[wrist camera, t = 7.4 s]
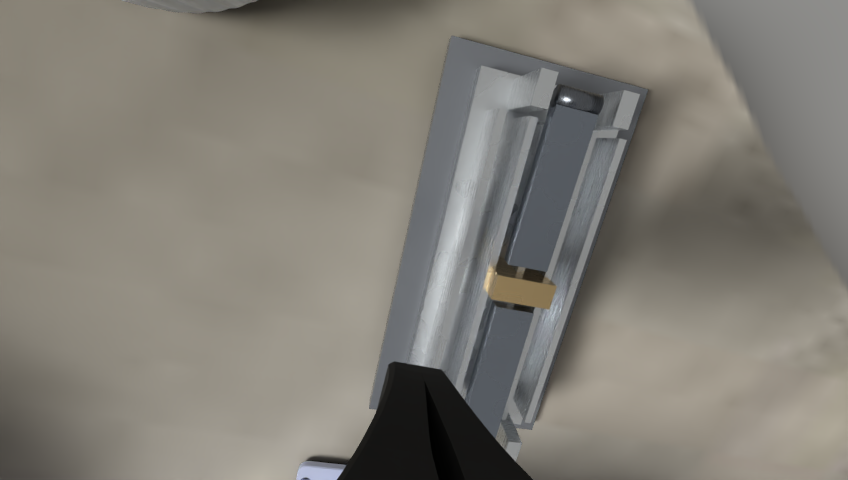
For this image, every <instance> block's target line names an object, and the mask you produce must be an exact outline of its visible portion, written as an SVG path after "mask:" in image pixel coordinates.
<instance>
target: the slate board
mask: <svg viewBox="0 0 848 480" xmlns="http://www.w3.org/2000/svg"><path fill="white" fill-rule="evenodd" d="M481 65H482V66H486V67H490V68H493V69H497V70H501V71H505V72H508V73H512V74H516V75H520V76H523V75H525V74H528V73H530V72H532V71H535V70H537V69H539V68H545V69H549V70H553V71H556V72H559V73H558V76H557V80H556V83H555V85H558V84H562V85H566V86H570V87H573V88H577V89H581V90H584V91H588V92H592V93H596V94H605V93H610V92H616V91H621V90H626V91H630V92H634V93H637V94H640V96H639V99H638V102H637V105H636V108H635V111H634V114H633V117H632V120H631V123H630V126H629V129H628V130H619V131H618V134H617V137H616V138H620V139H624V140H627V141H626V144H625V147H624V150H623V153H622V156H621V159H620V162H619V165H618V168H617V171H616V174H615V177H614V180H613V182H612V185H611V188H610V191H609V194H608V197H607V200H606V203H605V206H604V209H603V212H602V215H601V218H600V221H599V224H598V227H597V230H596V232H595V235H594V238H593V241H592V244H591V247H590V250H589V253H588V256H587V259H586V262H585V265H584V268H583V271H582V274H581V277H580V280H579V283H578V285H577V288H576V291H575V294H574V297H573V300H572V303H571V306H570V309H569V312H568V315H567V318H566V321H565V324H564V327H563V330H562V333H561V335H560V338H559V341H558V344H557V347H556V350H555V353H554V356H553V359H552V362H551V365H550V368H549V371H548V374H547V377H546V380H545V383H544V385H543V388H542V391H541V394H540V397H539V400H538V403H537V406H536V409H535V412H534V415H533V418H532V421H531V423H525V422H524V420H523V419H522V422H521V425H520V424H514V426H515V428H522V429H529V430H532V428H533V425H534V422H535V419H536V416H537V413H538V410H539V407H540V404H541V401H542V399H543V396H544V393H545V390H546V387H547V384H548V381H549V378H550V375H551V372H552V369H553V366H554V364H555V361H556V358H557V355H558V352H559V349H560V346H561V343H562V340H563V337H564V334H565V331H566V328H567V326H568V323H569V320H570V317H571V314H572V311H573V308H574V305H575V302H576V299H577V296H578V293H579V290H580V288H581V285H582V282H583V279H584V276H585V273H586V270H587V267H588V264H589V261H590V258H591V255H592V253H593V250H594V247H595V244H596V241H597V238H598V235H599V232H600V229H601V226H602V223H603V220H604V217H605V215H606V212H607V209H608V206H609V203H610V200H611V197H612V194H613V191H614V188H615V185H616V182H617V179H618V177H619V174H620V171H621V168H622V165H623V162H624V159H625V156H626V153H627V150H628V147H629V144H630V142H631V139H632V136H633V133H634V130H635V127H636V124H637V121H638V118H639V115H640V112H641V109H642V106H643V104H644V101H645V98H646V95H647V92H648V89H644V88H641V87H637V86H634V85H630V84H626V83H623V82H619V81H615V80H612V79H608V78H604V77H601V76H597V75H594V74H590V73H586V72H583V71H579V70H575V69H572V68H568V67H564V66H561V65H557V64H554V63H550V62H546V61H543V60H539V59H535V58H532V57H528V56H524V55H521V54H517V53H514V52H510V51H506V50H503V49H499V48H495V47H492V46H488V45H484V44H481V43H477V42H474V41H470V40H466V39H463V38H459V37H455V36H451V37H450V39H449V43H448V48H447V53H446V57H445V62H444V66H443V71H442V75H441V80H440V84H439V89H438V93H437V98H436V102H435V107H434V111H433V116H432V121H431V125H430V130H429V134H428V139H427V143H426V148H425V152H424V157H423V161H422V166H421V170H420V175H419V180H418V184H417V189H416V193H415V198H414V202H413V207H412V211H411V216H410V220H409V225H408V229H407V234H406V238H405V243H404V248H403V252H402V257H401V261H400V266H399V270H398V275H397V279H396V284H395V288H394V293H393V297H392V302H391V307H390V311H389V316H388V320H387V325H386V329H385V334H384V338H383V343H382V347H381V352H380V356H379V361H378V365H377V370H376V375H375V379H374V384H373V388H372V393H371V397H370V404H369V409H376V410H377V407H378V403H379V399H380V395H381V391H382V387H383V384H384V380H385V376H386V372H387V368H388V364H390V363H392V362H394V361H395V362H401V363H406V359H407V355H408V351H409V347H410V343H411V338H412V334H413V330H414V326H415V322H416V318H417V313H418V309H419V305H420V301H421V297H422V293H423V288H424V284H425V280H426V276H427V272H428V267H429V263H430V259H431V255H432V251H433V247H434V242H435V238H436V234H437V230H438V226H439V222H440V217H441V213H442V209H443V205H444V201H445V197H446V192H447V188H448V184H449V180H450V176H451V171H452V167H453V163H454V159H455V155H456V151H457V146H458V142H459V138H460V134H461V130H462V126H463V121H464V117H465V113H466V109H467V105H468V100H469V96H470V92H471V88H472V84H473V80H474V75H475V71H476V69H477V68H478V67H480V66H481Z"/></svg>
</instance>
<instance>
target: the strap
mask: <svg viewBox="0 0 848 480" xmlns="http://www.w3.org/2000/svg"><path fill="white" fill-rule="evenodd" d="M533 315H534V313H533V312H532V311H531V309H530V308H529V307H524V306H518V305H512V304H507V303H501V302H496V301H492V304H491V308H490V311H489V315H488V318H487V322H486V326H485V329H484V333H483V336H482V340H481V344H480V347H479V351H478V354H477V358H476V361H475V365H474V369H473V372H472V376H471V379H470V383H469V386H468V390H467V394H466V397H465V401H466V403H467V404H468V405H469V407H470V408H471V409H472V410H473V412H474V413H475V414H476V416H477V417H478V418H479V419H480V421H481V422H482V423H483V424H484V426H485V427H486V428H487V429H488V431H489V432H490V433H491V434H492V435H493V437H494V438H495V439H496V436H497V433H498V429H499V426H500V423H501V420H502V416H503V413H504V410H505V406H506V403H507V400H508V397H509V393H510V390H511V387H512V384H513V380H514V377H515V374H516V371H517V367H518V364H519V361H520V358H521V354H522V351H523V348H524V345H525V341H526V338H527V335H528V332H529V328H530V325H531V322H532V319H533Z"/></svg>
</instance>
